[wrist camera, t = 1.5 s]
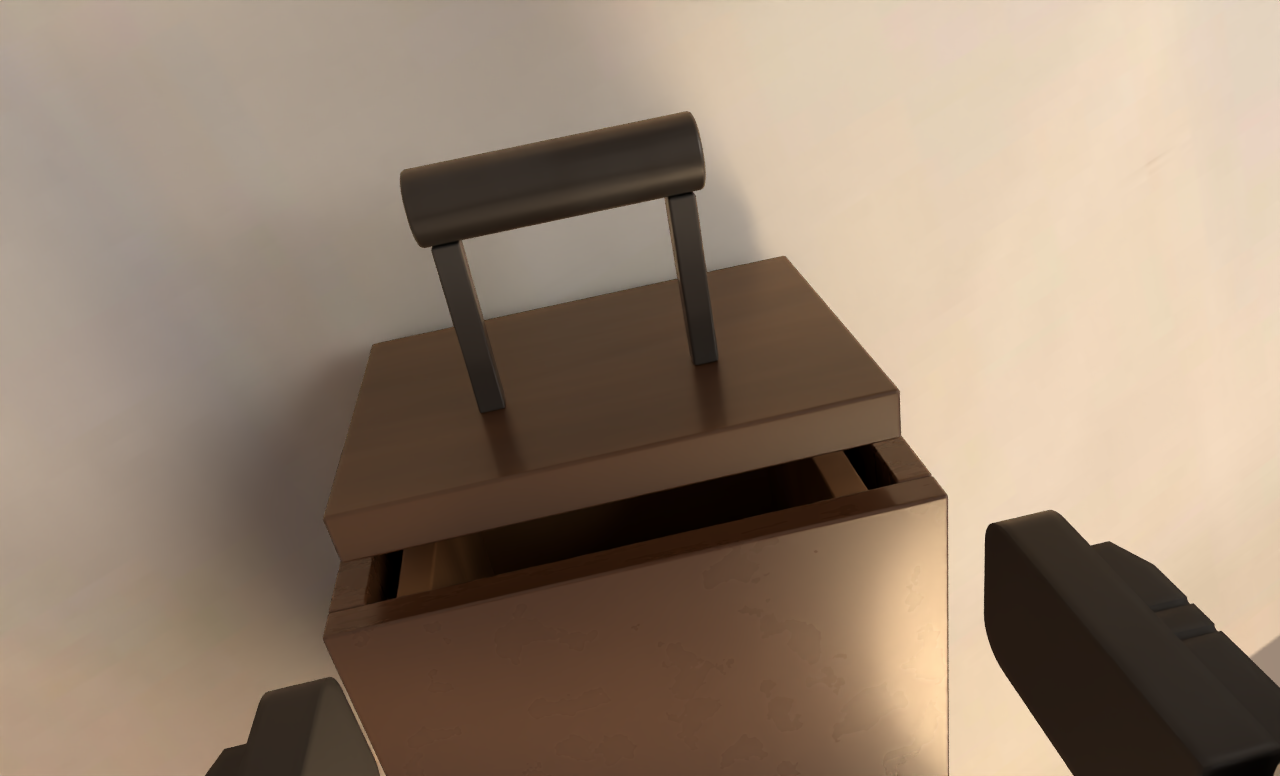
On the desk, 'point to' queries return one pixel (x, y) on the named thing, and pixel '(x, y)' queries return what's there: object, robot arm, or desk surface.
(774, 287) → the drawer
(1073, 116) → the desk surface
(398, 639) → the cabinet
